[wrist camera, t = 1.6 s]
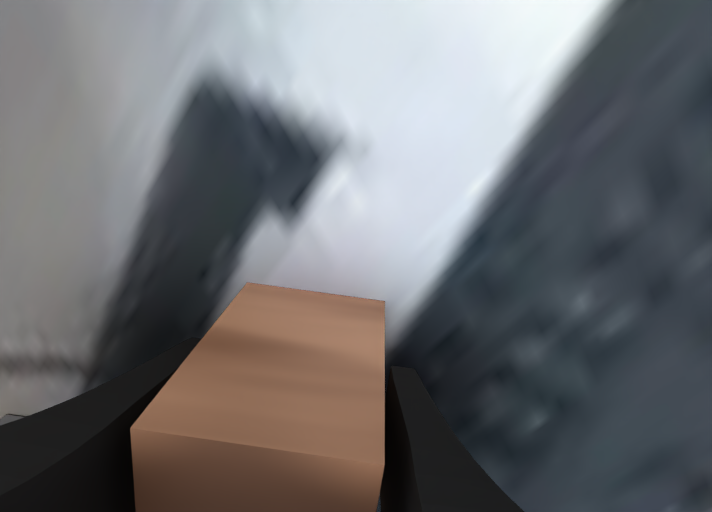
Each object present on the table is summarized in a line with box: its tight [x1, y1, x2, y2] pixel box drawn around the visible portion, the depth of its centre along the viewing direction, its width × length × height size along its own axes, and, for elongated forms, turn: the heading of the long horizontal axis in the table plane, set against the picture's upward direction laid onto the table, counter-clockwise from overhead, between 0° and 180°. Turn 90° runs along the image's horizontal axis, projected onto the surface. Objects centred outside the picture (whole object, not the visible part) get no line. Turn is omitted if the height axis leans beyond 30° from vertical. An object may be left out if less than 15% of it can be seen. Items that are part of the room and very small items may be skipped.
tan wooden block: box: [130, 283, 385, 512], centre depth 10 cm, size 4×4×6 cm
